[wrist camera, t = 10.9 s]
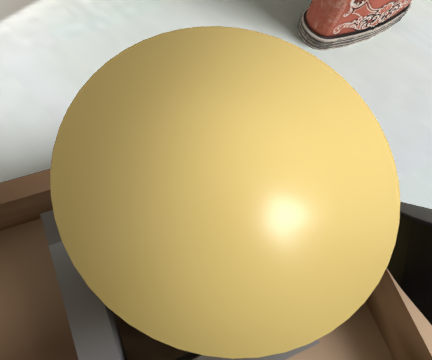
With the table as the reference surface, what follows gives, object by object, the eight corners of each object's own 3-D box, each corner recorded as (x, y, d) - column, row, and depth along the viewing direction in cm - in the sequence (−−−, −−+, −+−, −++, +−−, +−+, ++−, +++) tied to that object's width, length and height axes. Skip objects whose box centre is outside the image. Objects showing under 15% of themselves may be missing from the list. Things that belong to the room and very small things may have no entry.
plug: (205, 351, 16) (376, 413, 4) (110, 320, 16) (-26, 282, 4) (232, 257, 17) (415, 86, 5) (146, 227, 17) (133, -14, 5)
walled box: (424, 405, 17) (495, 424, 14) (11, 644, 13) (-44, 766, 9) (288, 131, 21) (316, 91, 18) (-62, 237, 16) (-120, 212, 13)
